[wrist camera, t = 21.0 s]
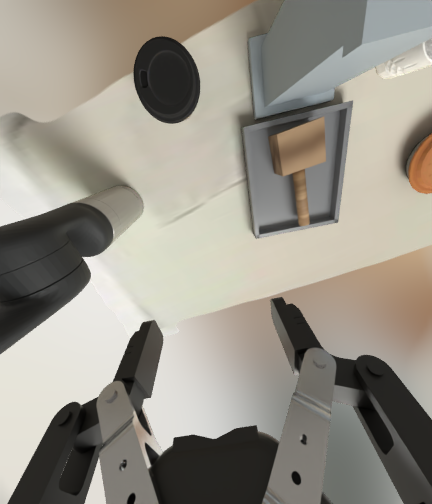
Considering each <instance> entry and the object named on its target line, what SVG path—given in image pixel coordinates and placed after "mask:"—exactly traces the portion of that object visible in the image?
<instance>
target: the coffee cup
mask: <svg viewBox="0 0 432 504" xmlns="http://www.w3.org/2000/svg"><path fill="white" fill-rule="evenodd" d="M134 83H135V88H136V91H137V94H138V96H139V99H140V101H141V102H142V104H143V106H144V107H145V109H146V110H147V111H148V112H149V113H150V114H151V115H152V116H153V117H154V118H156V119H158V120H159V121H162V122H164V123H170V124H173V123H179V122H181V121H184V120H187V119H188V118H189V117H190V116H191V115H192V112H193V111H194V109H195V107H196V105H197V103H198V99H199V95H200V78H199V73H198V69H197V66H196V64H195V62H194V60H193V58H192V56H191V55H190V53H189V52H188V51H187V50H186V48H185V47H184V46H183V45H182V44H180V43H179V42H177V41H176V40H174V39H172V38H169V37H155V38H152V39H150V40H149V41H147V42H146V43H145V44H144V45H143V46H142V47H141V49H140V50H139V52H138V55H137V57H136V60H135V64H134Z"/></svg>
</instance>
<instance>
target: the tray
mask: <svg viewBox="0 0 432 504" xmlns="http://www.w3.org/2000/svg"><path fill="white" fill-rule="evenodd" d="M352 105H353V101H349V102H345V103H341V104H337V105H333V106H329V107H324V108H320V109H316V110H312V111H308V112H304V113H300V114H296V115H291V116H287V117H283V118H279V119H275V120H271V121H267V122H263V123H259V124H254V125H250V126H246V127H243V128H242V138H243V146H244V155H245V164H246V172H247V181H248V190H249V198H250V207H251V216H252V224H253V233H254V236H255V238H256V239H257V238H262V237H267V236H272V235H277V234H282V233H287V232H292V231H297V230H302V229H307V228H312V227H318V226H323V225H328V224H333V223H338V218H339V210H340V202H341V194H342V186H343V178H344V170H345V162H346V154H347V146H348V138H349V130H350V122H351V113H352ZM321 117H324V122H325V148H326V162H323V163H320V164H317V165H314V166H312V167H309V168H306V169H305V177H306V188H307V199H308V210H309V221H310V224H308V225H306V226H300V225H299V223H298V215H297V207H296V198H295V190H294V182H293V174H289V175H286V176H280V175H277V174H274V169H273V163H272V157H271V151H270V145H269V139H268V137H269V136H271V135H274V134H277V133H279V132H282V131H284V130H287V129H290V128H292V127H295V126H298V125H300V124H303V123H305V122H308V121H311V120H314V119H318V118H321Z"/></svg>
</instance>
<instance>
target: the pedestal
mask: <svg viewBox="0 0 432 504" xmlns="http://www.w3.org/2000/svg"><path fill="white" fill-rule="evenodd" d="M431 38H432V0H284V2H283V4H282V6H281V8H280V10H279V12H278V14H277V16H276V18H275V20H274V22H273V24H272V26H271V28H270V30H269V32H268V33H266V34H263V35H259V36H255V37H252V38H249V41H248V51H249V63H250V74H251V86H252V98H253V109H254V120H255V119H260V118H264V117H268V116H272V115H276V114H280V113H284V112H288V111H292V110H296V109H300V108H304V107H309V106H313V105H317V104H321V103H325V102H329V101H332V100H334V90H335V87H337V86H339V85H341V84H343V83H345V82H346V81H348V80H350V79H352V78H354V77H356V76H358V75H360V74H362V73H364V72H366V71H368V70H370V69H372V68H374V67H376V66H378V65H380V64H382V63H384V62H386V61H388V60H390V59H392V58H394V57H396V56H398V55H399V54H401V53H403V52H405V51H407V50H409V49H411V48H413V47H415V46H417V45H419V44H421V43H423V42H425V41H427V40H429V39H431Z"/></svg>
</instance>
